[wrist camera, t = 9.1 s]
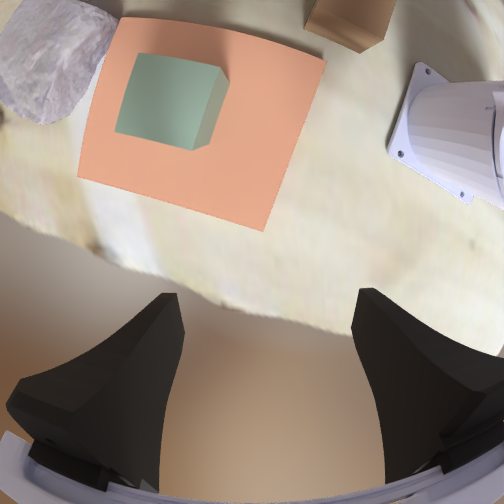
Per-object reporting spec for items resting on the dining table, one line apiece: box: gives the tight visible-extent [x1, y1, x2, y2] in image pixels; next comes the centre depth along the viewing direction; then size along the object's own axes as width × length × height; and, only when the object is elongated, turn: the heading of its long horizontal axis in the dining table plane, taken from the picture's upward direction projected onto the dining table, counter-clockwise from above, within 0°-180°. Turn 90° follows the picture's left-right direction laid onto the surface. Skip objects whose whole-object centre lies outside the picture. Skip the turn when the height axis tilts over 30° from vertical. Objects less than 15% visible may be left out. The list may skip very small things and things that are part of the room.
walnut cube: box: [304, 0, 396, 54], centre depth 11 cm, size 4×4×4 cm
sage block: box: [114, 53, 230, 151], centre depth 13 cm, size 4×4×5 cm
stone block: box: [0, 0, 120, 125], centre depth 12 cm, size 12×5×10 cm
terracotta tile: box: [77, 17, 327, 232], centre depth 15 cm, size 14×12×1 cm
